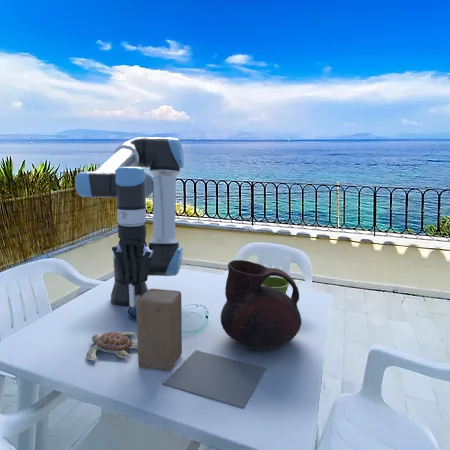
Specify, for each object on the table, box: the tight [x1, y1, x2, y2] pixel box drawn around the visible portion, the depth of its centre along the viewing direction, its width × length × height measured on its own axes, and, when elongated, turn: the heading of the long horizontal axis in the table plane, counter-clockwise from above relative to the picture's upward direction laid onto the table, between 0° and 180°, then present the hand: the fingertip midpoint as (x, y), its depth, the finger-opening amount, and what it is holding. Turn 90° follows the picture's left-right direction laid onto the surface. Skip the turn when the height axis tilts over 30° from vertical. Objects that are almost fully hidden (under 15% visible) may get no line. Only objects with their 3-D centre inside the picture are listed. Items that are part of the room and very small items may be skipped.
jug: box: [220, 259, 302, 350], centre depth 115 cm, size 25×25×25 cm
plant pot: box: [261, 276, 290, 295], centre depth 140 cm, size 12×12×11 cm
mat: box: [162, 349, 267, 409], centre depth 98 cm, size 18×22×1 cm
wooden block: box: [135, 288, 183, 372], centre depth 103 cm, size 10×10×20 cm
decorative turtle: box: [85, 331, 138, 362], centre depth 112 cm, size 18×17×5 cm
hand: (134, 304), depth 105 cm, fingers closed
